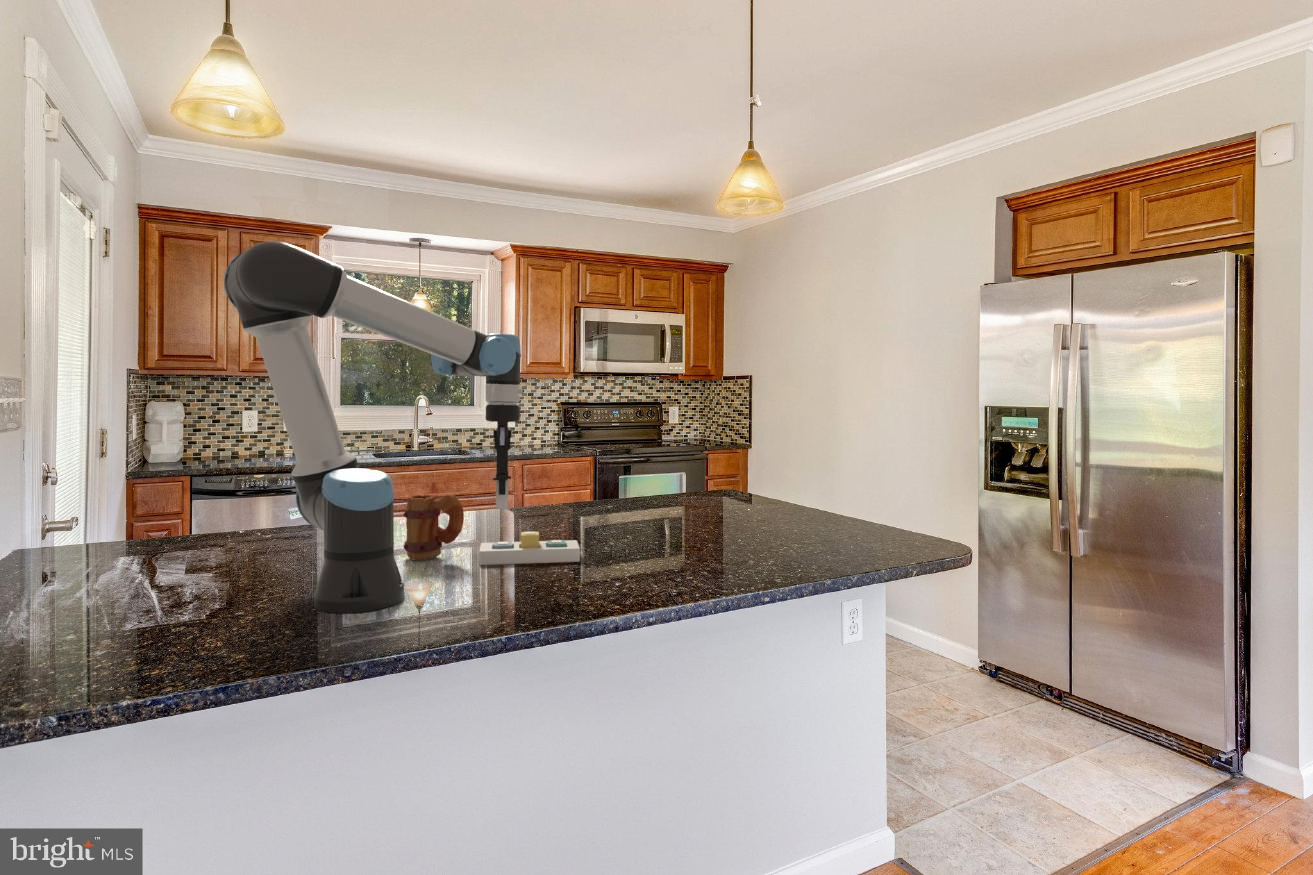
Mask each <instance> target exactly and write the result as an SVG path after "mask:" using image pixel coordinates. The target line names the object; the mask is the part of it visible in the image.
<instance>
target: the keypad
mask: <svg viewBox="0 0 1313 875" xmlns="http://www.w3.org/2000/svg"><path fill="white" fill-rule="evenodd" d="M511 542H512V548H509V549H494V542H481V543H480V548H479V562H478V564H479V566H486V565H487V566H490V565H515V564H516V565H517V564H519V565H520V564H540V563H541V564H547V563H552V564H553V563H575V562H577V563H579V562H580V561H581V548H580V546H579V543H578V540H575V539H573V540H565V542H566V547H547V540H539V548H521V541H511Z"/></svg>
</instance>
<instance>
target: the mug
mask: <svg viewBox="0 0 1313 875" xmlns="http://www.w3.org/2000/svg"><path fill="white" fill-rule="evenodd" d="M406 498H407V500H406V508H405V509H404V512H403V514H402V515H403V517H405V519H406V522H405V523H406V524H405V527H406V540H405V541H404V545H403V549H404V550H405V551H406V555H407V557H408V558H409V559H411V560H413V561H426V560H431V559H435V558H437V557H438V556H440V555H441V554H442V550H441V549H442V547H443V543H444V545H447V544H451V543H453V542H454V541H455V540H456V539H457V538H458V537H459V535H460V534H461V532H462V530H463V525H464V518H465V514H464V508H463V505H462V503H461V501H460V499H459V498H458V496H456V495H455V494H453V493H450V494H449V493H448V494H445V495H443V496H442V497H441V498H439V499H438V498H437V496H436V495H430V494H427V495H425V494H424V495H421V494H416V495H409V496H407V497H406ZM441 511H442V512H444V513H445V514H446V515H447V516H449V517H448V524H447V525H446V527H445V528H443V527H441V526H439V516H441Z"/></svg>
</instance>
